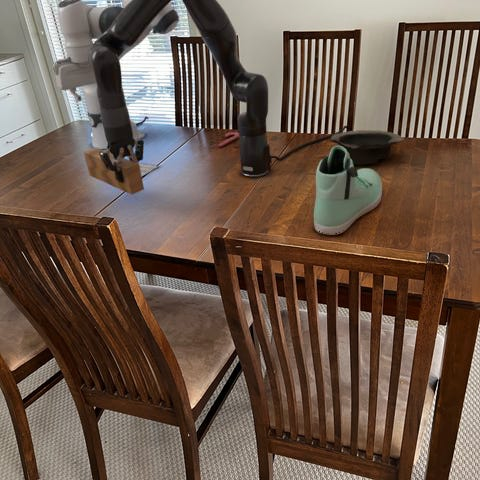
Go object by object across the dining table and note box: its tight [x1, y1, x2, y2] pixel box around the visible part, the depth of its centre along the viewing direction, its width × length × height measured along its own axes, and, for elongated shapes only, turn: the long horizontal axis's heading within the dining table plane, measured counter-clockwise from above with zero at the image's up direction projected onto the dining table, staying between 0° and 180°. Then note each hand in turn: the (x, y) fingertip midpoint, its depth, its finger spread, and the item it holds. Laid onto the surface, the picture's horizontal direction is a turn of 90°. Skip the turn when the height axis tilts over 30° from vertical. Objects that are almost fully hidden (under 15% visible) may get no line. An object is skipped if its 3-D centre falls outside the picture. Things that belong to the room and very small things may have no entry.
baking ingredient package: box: [138, 163, 158, 177], centre depth 172 cm, size 9×1×15 cm
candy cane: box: [218, 131, 239, 148], centre depth 194 cm, size 6×15×2 cm, turn 145°
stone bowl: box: [329, 129, 404, 166], centre depth 169 cm, size 25×25×9 cm
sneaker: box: [313, 145, 383, 236], centre depth 133 cm, size 14×35×20 cm, turn 152°
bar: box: [83, 147, 145, 195], centre depth 145 cm, size 24×4×8 cm, turn 45°
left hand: (91, 97), depth 163 cm, fingers open, 8 cm apart
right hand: (128, 178), depth 141 cm, fingers closed on bar, 4 cm apart
